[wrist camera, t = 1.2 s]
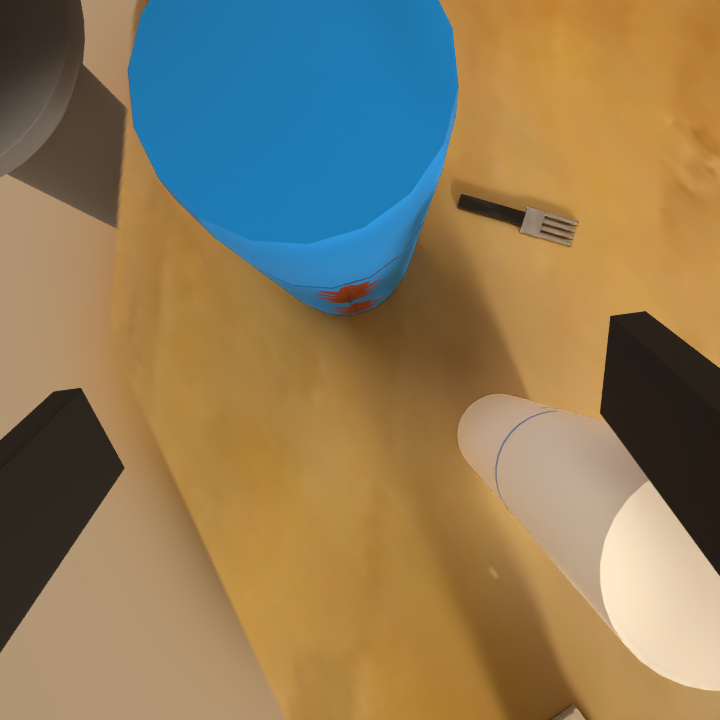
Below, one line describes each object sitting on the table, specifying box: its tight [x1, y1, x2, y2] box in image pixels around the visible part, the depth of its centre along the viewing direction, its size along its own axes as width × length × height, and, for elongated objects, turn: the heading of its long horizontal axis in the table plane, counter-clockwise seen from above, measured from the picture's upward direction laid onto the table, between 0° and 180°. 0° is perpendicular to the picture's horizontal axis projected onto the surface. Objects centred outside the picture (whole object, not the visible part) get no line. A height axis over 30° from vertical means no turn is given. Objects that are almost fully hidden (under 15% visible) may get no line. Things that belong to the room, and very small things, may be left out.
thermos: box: [128, 0, 458, 316], centre depth 27 cm, size 11×11×25 cm
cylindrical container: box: [457, 394, 720, 690], centre depth 27 cm, size 7×7×25 cm
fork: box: [457, 194, 578, 246], centre depth 39 cm, size 10×2×1 cm, turn 73°
